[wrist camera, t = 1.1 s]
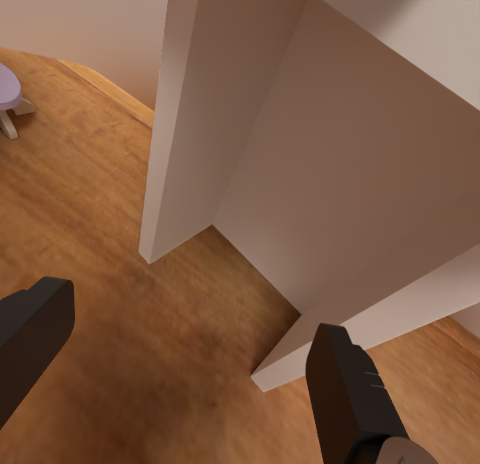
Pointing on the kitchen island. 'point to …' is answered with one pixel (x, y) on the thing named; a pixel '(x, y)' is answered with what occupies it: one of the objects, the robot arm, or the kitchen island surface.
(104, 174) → the kitchen island surface
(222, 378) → the kitchen island surface
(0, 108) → the toy table
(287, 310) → the kitchen island surface
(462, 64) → the shelf stand
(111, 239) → the kitchen island surface
